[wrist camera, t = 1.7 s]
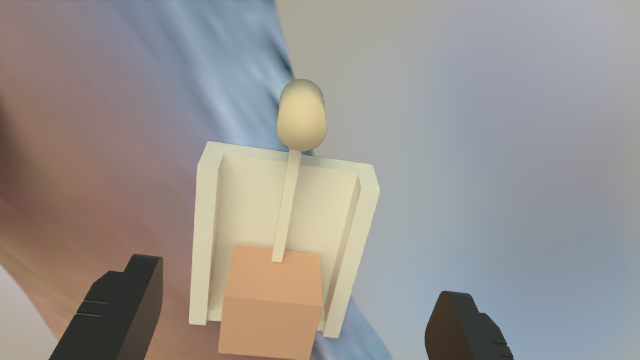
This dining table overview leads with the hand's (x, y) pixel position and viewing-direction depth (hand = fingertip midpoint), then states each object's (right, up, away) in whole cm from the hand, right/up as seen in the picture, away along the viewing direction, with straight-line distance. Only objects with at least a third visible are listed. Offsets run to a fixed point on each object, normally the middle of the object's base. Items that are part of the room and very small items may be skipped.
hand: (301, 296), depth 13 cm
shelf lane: (-3, 0, +20) cm, 20 cm away
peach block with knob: (-2, +2, +18) cm, 18 cm away
